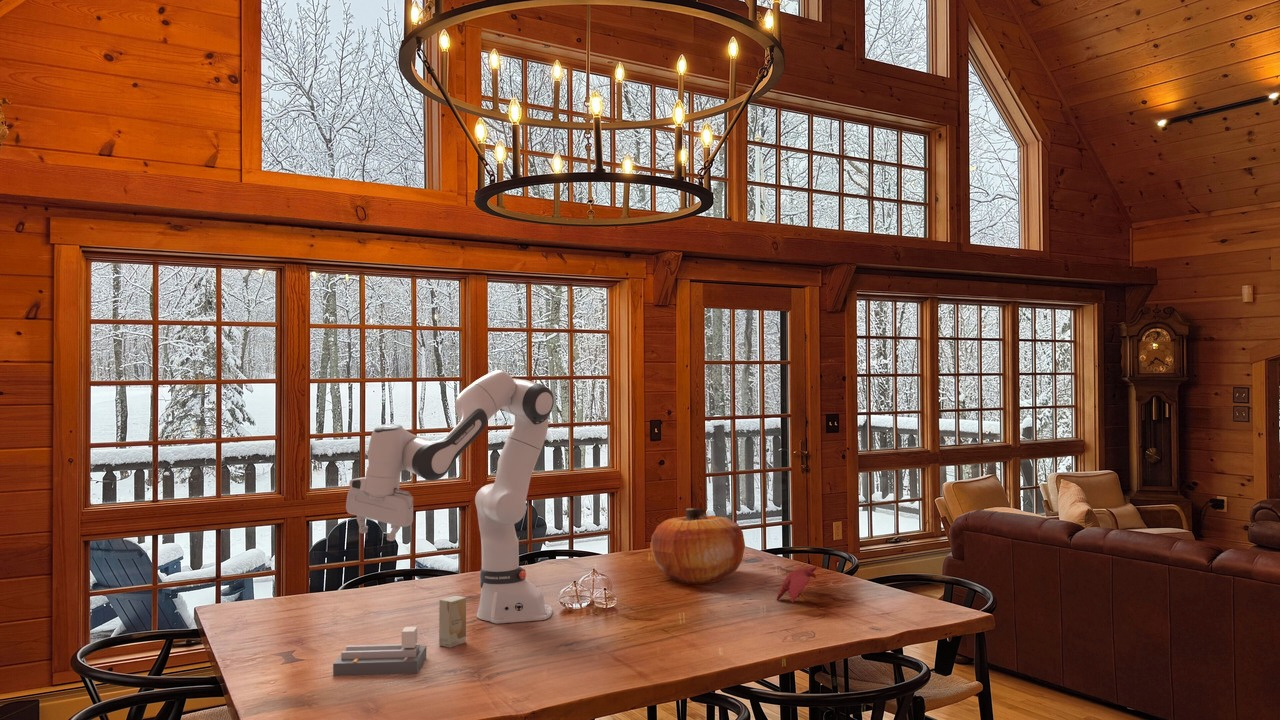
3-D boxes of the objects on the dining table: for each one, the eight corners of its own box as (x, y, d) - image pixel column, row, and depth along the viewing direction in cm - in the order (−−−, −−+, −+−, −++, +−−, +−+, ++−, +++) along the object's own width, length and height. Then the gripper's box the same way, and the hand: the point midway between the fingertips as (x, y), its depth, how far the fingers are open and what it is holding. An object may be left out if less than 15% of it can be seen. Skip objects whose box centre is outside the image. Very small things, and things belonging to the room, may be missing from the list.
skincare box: (450, 648, 229) (450, 602, 229) (438, 645, 231) (438, 600, 232) (467, 642, 235) (467, 596, 235) (455, 639, 237) (455, 594, 237)
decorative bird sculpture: (784, 627, 260) (818, 592, 257) (761, 604, 262) (795, 570, 259) (798, 603, 287) (829, 572, 284) (777, 583, 289) (807, 551, 286)
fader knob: (419, 649, 218) (419, 626, 218) (416, 654, 214) (416, 631, 214) (403, 650, 218) (403, 627, 218) (399, 655, 214) (399, 631, 214)
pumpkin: (658, 567, 324) (654, 501, 324) (747, 565, 320) (743, 498, 319) (647, 593, 292) (642, 520, 291) (746, 591, 287) (741, 517, 287)
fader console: (426, 657, 222) (426, 639, 222) (417, 673, 210) (416, 654, 210) (347, 659, 221) (347, 641, 221) (333, 676, 209) (333, 657, 209)
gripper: (421, 491, 228) (415, 542, 228) (361, 476, 236) (356, 526, 237) (405, 494, 222) (399, 547, 222) (344, 479, 230) (339, 530, 231)
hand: (376, 536), depth 230 cm, fingers open, 8 cm apart
